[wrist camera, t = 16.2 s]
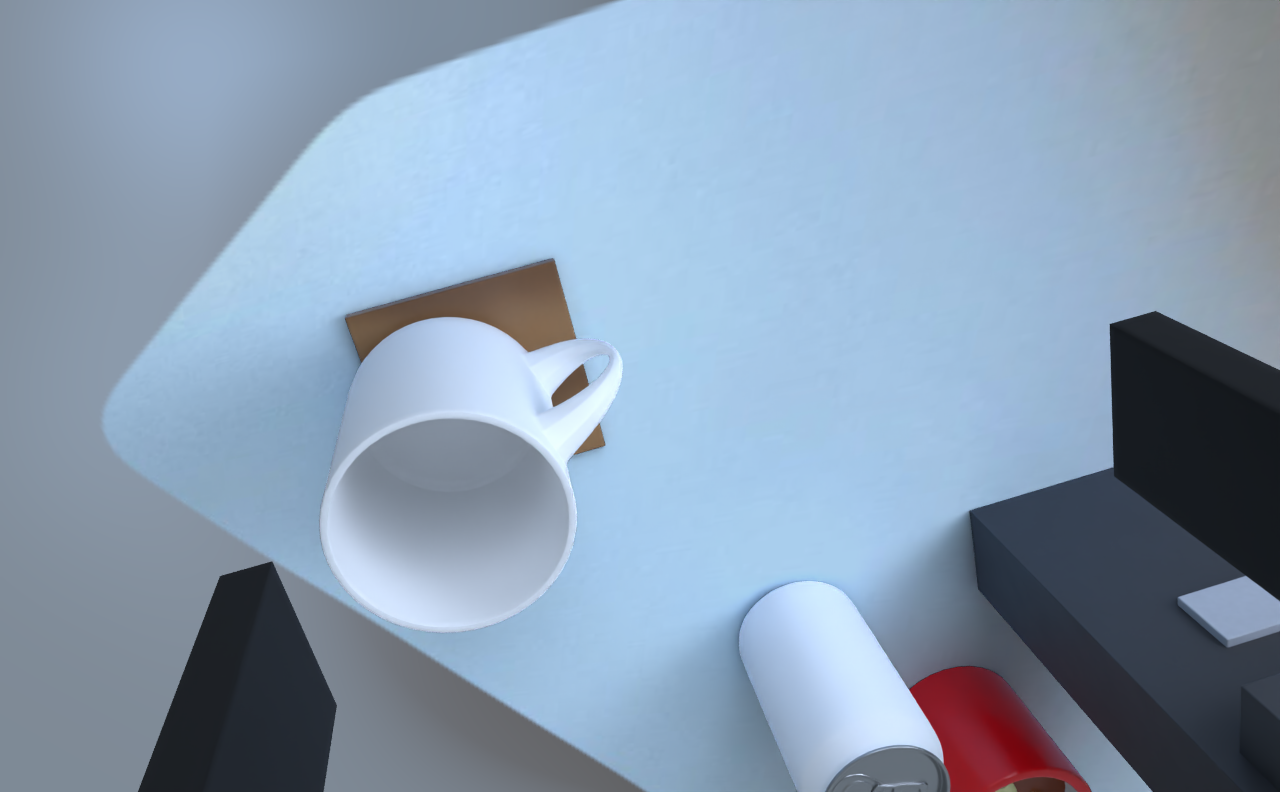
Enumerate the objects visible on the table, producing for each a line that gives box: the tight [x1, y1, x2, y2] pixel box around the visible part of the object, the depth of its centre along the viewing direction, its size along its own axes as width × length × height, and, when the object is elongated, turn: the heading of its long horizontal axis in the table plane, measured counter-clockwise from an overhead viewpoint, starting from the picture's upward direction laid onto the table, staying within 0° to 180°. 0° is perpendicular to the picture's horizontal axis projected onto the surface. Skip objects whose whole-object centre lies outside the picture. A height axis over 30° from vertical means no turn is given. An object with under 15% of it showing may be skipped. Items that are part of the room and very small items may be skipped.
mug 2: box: [909, 666, 1092, 792], centre depth 54 cm, size 8×12×8 cm, turn 58°
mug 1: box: [319, 317, 623, 633], centre depth 39 cm, size 9×12×11 cm
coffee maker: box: [970, 468, 1280, 792], centre depth 42 cm, size 8×14×22 cm, turn 103°
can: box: [739, 581, 950, 792], centre depth 47 cm, size 6×6×12 cm
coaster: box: [345, 258, 605, 455], centre depth 44 cm, size 9×9×1 cm
